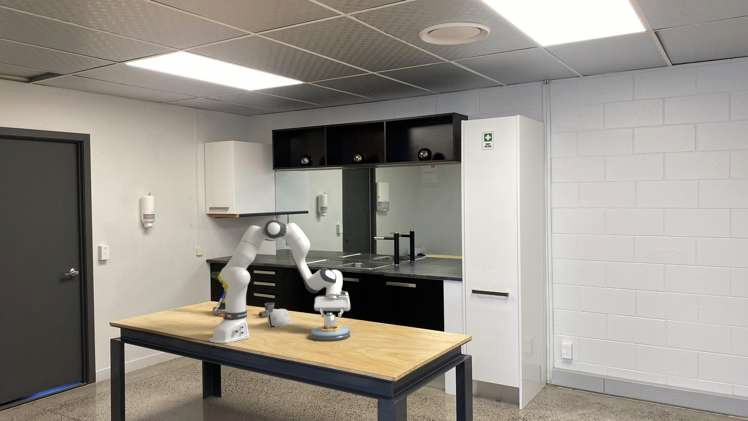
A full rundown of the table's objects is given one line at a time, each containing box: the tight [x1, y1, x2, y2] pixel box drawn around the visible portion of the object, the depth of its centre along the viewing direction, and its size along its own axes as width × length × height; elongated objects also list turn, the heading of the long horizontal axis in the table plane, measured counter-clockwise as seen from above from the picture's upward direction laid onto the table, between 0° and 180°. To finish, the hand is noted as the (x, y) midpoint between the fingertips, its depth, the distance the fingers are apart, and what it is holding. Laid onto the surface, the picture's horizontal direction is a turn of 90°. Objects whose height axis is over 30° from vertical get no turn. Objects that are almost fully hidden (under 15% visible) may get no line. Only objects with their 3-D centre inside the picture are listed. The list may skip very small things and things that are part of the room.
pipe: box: [258, 302, 275, 318], centre depth 355 cm, size 6×13×8 cm, turn 152°
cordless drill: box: [210, 271, 228, 317], centre depth 368 cm, size 18×19×28 cm
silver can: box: [323, 312, 336, 330], centre depth 299 cm, size 6×6×9 cm
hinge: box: [266, 308, 293, 328], centre depth 332 cm, size 17×5×10 cm, turn 150°
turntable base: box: [309, 329, 351, 343], centre depth 300 cm, size 22×22×2 cm
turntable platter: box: [311, 325, 349, 337], centre depth 300 cm, size 20×20×3 cm
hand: (331, 316), depth 303 cm, fingers open, 8 cm apart
